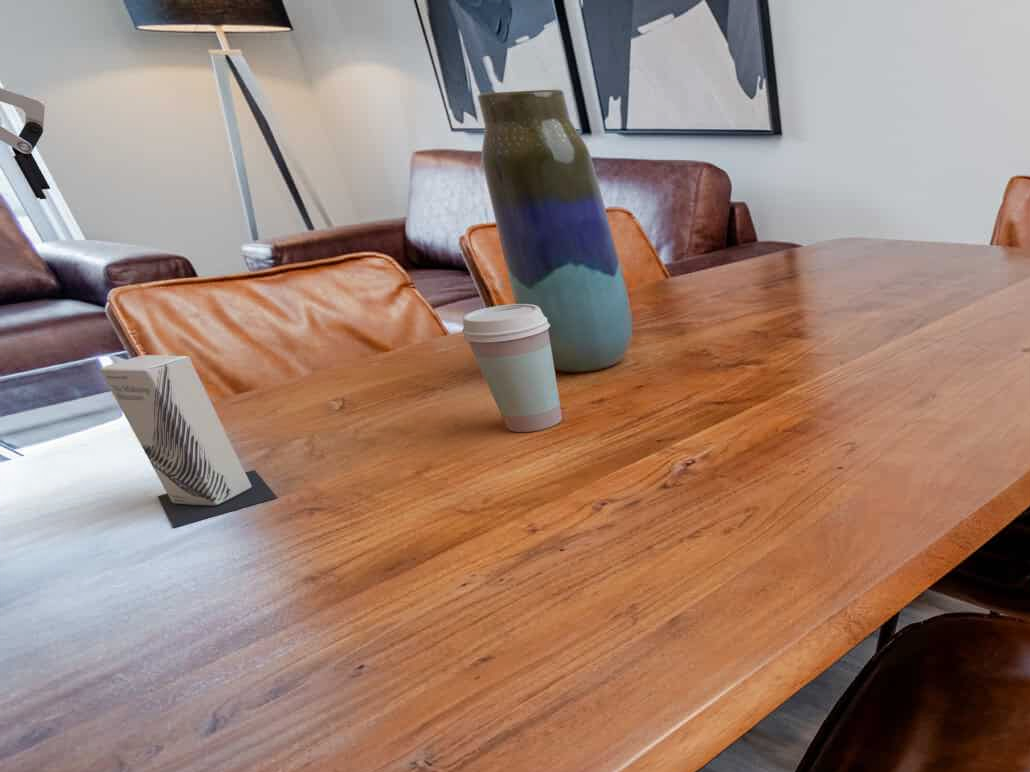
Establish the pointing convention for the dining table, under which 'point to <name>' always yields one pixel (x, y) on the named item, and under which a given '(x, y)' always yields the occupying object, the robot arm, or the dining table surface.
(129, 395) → the box
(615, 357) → the vase
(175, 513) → the edge mat
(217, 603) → the dining table surface
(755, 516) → the dining table surface
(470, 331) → the coffee cup
